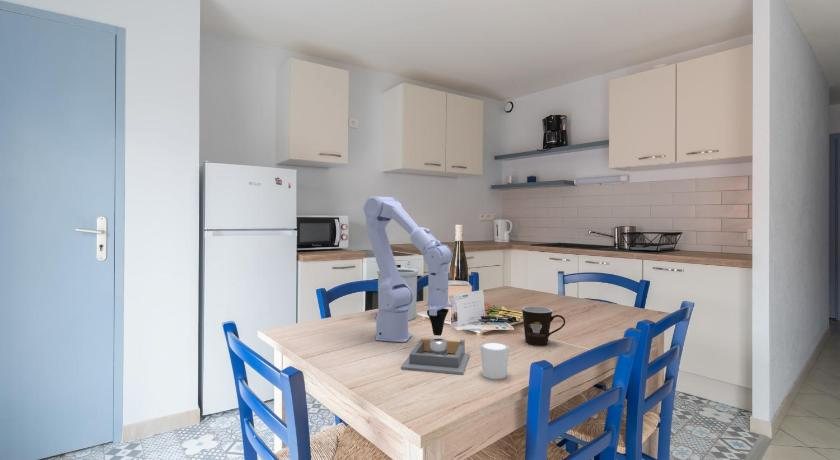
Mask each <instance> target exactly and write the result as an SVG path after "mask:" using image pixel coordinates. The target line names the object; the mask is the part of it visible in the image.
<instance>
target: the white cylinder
mask: <svg viewBox="0 0 840 460" xmlns="http://www.w3.org/2000/svg"><path fill="white" fill-rule="evenodd" d="M509 353H510V346H509V345H507V344H506V343H503V342H498V341H497V342H496V341H495V342H494V341H491V342H483V343H482V344H480V355H481V369H482V375H483V376H484V378H486V379H491V380H502V379H505V378H506V377H507V374H508V363H509Z"/></svg>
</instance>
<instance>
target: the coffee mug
mask: <svg viewBox="0 0 840 460" xmlns="http://www.w3.org/2000/svg"><path fill="white" fill-rule="evenodd" d="M521 311H522V319H523V330H524V339H525V340H524V341H525V344H527V345H529V346H534V347H544V346H547V345H548V342H549V337H550V336H551V335H552V334H554V333H557V332H558V331H561V329H562V328H564V327H565V325H566V319H565V317H564V316H562V315H560V314H555V315H553V316H552V314H553V309H552V308H549V307H544V306H537V305H535V306H534V305H533V306H524V307H522V308H521ZM555 318H561V320H563V321H562V322H563V323H562V325H560V327H558V328H556V329H554V330H552V331H551V332H550V329H551V323H552V321H553V320H554V319H555Z"/></svg>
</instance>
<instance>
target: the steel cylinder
mask: <svg viewBox="0 0 840 460" xmlns="http://www.w3.org/2000/svg"><path fill="white" fill-rule="evenodd" d="M431 339H432V340H430V352H429V354H432V355H445V356H448V353H447V341H446V340H447V339H445V338H431Z"/></svg>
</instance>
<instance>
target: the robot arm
mask: <svg viewBox="0 0 840 460" xmlns="http://www.w3.org/2000/svg"><path fill="white" fill-rule="evenodd" d="M363 205H364V206H363V208H362V209H363V212H364V215H365V228H366V231H367V232H366V233H367V235H368V238H369V241H370V245H371V247H372V251H373V254H374V258H375V261H376V264H377V267H378V269H379V271H380V274H381V278H382V283H381V285H380V287H379V293H380V304H381V306H382V307H383V309H379V310H378V309H377V314H376V321H375V323H376V324H375V325H376V329H375V330H376V331H375V332H376V336H375V341H381V342H383V341H385V342H396V343H407V342H408V340H409V339H410V338H411V337H412V335H413V334H412V333H409V320H408V308H409V305H410V304H411V303H412V301H413V293H412V290H411V289H410V288H409V287H408V285H407V282H406V280H404V279H403V278H402V277H400V275H399V272H398V269H397V268H398V267H397V263H396V260H395V257H394V254H393V250H392V247H391V244H390V241H389V237H388V235H387V232H386V228H387V225H388V224H389V223H390V221H392V220H394V221H395V223H397V224H398V225H399V226H400V227H401V228H402V229H403V230H405V232H406V233H408V234H409V235H410V238H409V239H410V242H411V243H412V244H413V245H414V246H415V247H416V249H418V250H419V251H420V252H421V254H422V255H424V256H423V258H424V259H423V260H424V262H425V264H426V266H427V271H428V272H427V273H428V275H427V276H428V277H427V279H428V282H427V283H428V284H427V285H428V287H427V289H428V290H427V300H428V301H427V305H426V306H427V308H428V310H426V315H427V317H428V319H429V320H430V324H431V328H432V333H433V336H438V337H439V336H442V335H443V329H444V325H445V321H446V318H447V315H448V313H449V308H451V307H452V306H453V303H452V302H449V266H450V265H449V263H451V262H452V260H453V252H452V249H451V247H450V246H449V245H447V244H442V242H441V241H440V240H439V239H437V238H436V237H435V236H434V235H433V234H432V233H431V229H429V228H427V227H424V226H421V227H419V225H418V224H417V223H416V222H415V220H414V219H413V218H412V217H411V216H410V214H408V213H407V211H406V210H405V209H404V208H403V206H402V203H401V202H400V201H398V200H397V198H396V197H394V196H379V195H378V196H376V195H371V196H369V197H368V198H367V199H366V201H365V203H364V204H363ZM392 288H393V289H392Z"/></svg>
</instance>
